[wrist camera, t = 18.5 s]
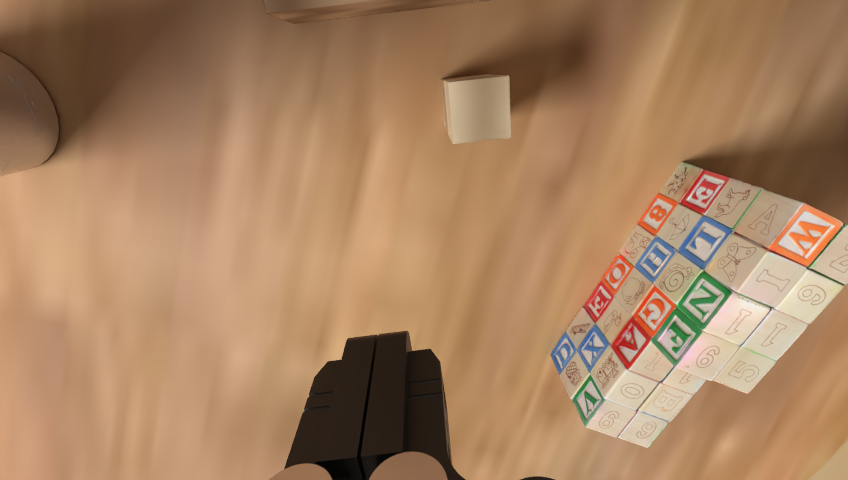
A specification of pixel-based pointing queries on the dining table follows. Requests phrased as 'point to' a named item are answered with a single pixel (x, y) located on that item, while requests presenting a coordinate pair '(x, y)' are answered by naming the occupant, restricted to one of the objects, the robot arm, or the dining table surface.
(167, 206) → the dining table surface
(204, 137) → the dining table surface
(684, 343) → the stack of blocks
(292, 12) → the toolbox
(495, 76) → the beige wooden block
